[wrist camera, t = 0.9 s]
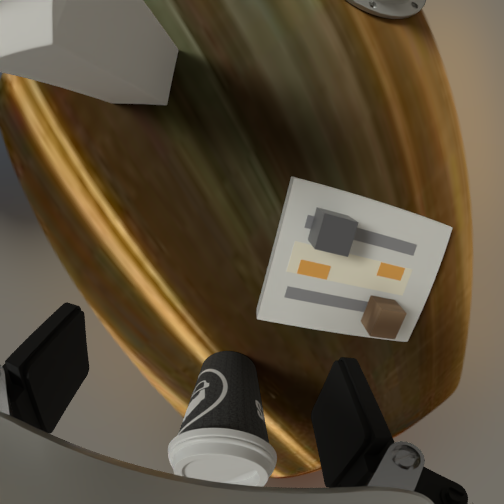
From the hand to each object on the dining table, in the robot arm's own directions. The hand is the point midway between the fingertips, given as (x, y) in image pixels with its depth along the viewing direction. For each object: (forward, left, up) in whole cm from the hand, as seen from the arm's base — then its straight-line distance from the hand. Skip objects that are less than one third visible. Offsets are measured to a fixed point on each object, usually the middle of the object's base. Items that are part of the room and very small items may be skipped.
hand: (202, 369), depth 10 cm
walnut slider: (+4, +16, -18) cm, 24 cm away
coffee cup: (+17, +3, -20) cm, 26 cm away
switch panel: (+1, +13, -20) cm, 24 cm away
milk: (-13, -12, -20) cm, 27 cm away
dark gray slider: (-3, +8, -18) cm, 20 cm away
